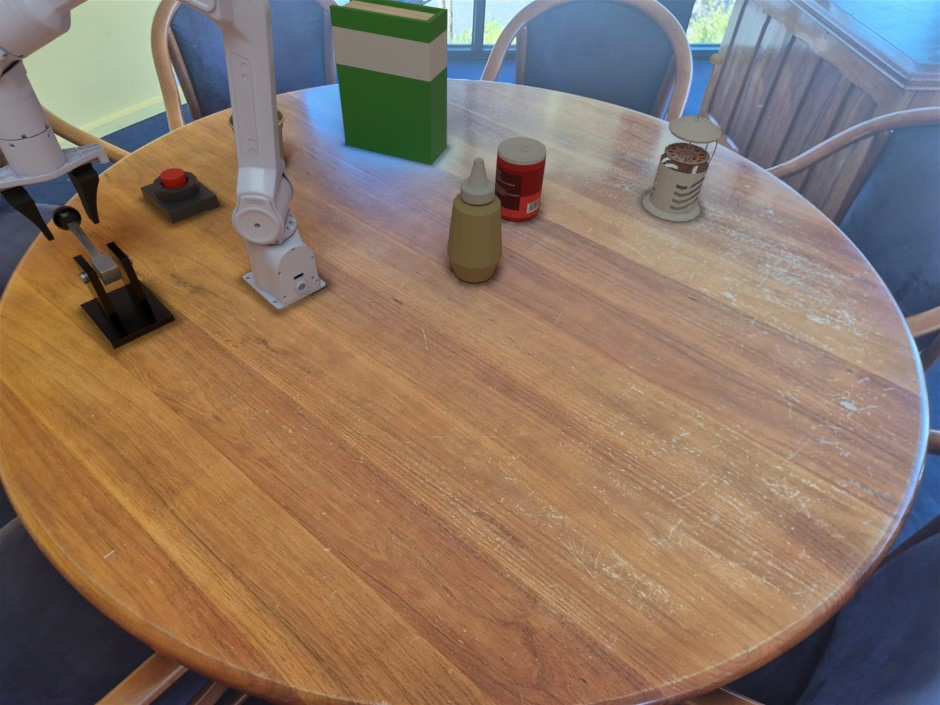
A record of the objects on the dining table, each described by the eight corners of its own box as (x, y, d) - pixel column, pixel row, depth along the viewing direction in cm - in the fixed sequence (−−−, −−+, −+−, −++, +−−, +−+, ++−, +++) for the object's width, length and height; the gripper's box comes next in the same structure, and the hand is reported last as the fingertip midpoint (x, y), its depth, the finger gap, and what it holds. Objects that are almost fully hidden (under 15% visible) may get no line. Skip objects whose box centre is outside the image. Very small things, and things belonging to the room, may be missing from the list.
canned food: (539, 198, 107) (547, 138, 99) (538, 225, 101) (546, 163, 93) (495, 195, 107) (499, 134, 99) (491, 221, 101) (495, 159, 93)
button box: (219, 206, 101) (213, 184, 99) (173, 225, 97) (165, 203, 95) (190, 182, 106) (183, 161, 103) (144, 199, 102) (136, 177, 99)
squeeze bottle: (495, 292, 89) (505, 179, 76) (440, 283, 90) (440, 171, 77) (504, 259, 94) (515, 148, 81) (453, 251, 95) (455, 141, 82)
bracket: (83, 311, 83) (50, 251, 76) (141, 285, 87) (115, 227, 80) (115, 350, 78) (83, 290, 71) (175, 321, 82) (150, 262, 75)
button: (191, 184, 99) (188, 174, 98) (169, 192, 98) (166, 182, 96) (180, 175, 101) (177, 165, 100) (159, 183, 99) (155, 173, 98)
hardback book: (345, 144, 117) (329, 6, 100) (364, 128, 122) (351, -7, 105) (431, 164, 113) (429, 23, 96) (446, 146, 118) (447, 9, 101)
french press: (630, 200, 107) (668, 49, 89) (674, 181, 112) (719, 34, 94) (674, 228, 102) (724, 72, 84) (718, 206, 107) (775, 55, 89)
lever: (52, 223, 81) (43, 205, 78) (77, 214, 82) (69, 196, 80) (102, 289, 77) (95, 273, 74) (127, 278, 79) (121, 262, 76)
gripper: (73, 99, 77) (114, 196, 86) (-61, 135, 69) (0, 236, 79) (97, 119, 73) (137, 217, 83) (-42, 159, 66) (20, 261, 76)
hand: (72, 228), depth 81 cm, fingers open, 5 cm apart
